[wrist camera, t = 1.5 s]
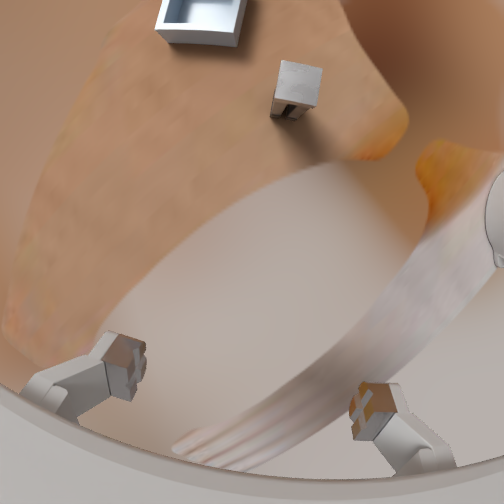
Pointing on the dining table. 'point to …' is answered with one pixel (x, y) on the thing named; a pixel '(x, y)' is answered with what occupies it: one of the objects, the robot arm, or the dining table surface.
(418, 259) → the dining table surface
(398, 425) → the robot arm
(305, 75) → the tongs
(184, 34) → the blue-gray square tray
